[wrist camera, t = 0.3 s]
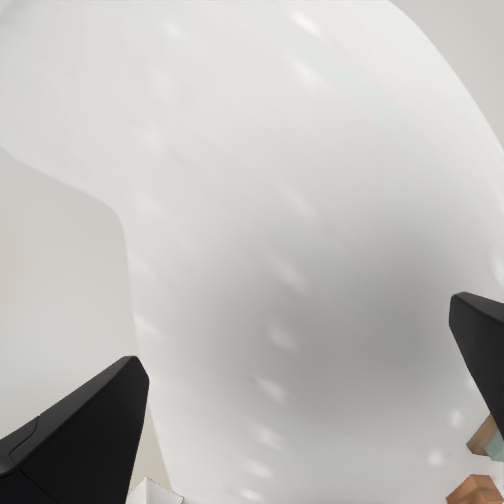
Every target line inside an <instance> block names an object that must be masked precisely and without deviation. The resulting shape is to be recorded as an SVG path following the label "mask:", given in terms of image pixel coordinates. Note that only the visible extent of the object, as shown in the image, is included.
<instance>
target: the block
mask: <svg viewBox="0 0 504 504" xmlns="http://www.w3.org/2000/svg"><path fill="white" fill-rule="evenodd" d="M446 500H447V502H448V504H502V503H503V502H504V499H503V497H502V496H501V494H500V492H499V491H498V489H497V487H496V486H495V484H494V483H493V481H492V480H491V478H490V476H488V475H473V474H471V475H470V476H469V477H468V478H467V479H466V480H465V481H464V482H463V483H462V484H461V485H460V486H459V487H458V488H457V489H456V490H454V491H453V492H452V493H451V494H450V495H449V496H448V497H447V498H446Z"/></svg>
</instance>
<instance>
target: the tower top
mask: <svg viewBox="0 0 504 504" xmlns="http://www.w3.org/2000/svg"><path fill="white" fill-rule="evenodd" d="M484 450H485V451H486V452H487V454H488V455H489V457H490V458H491V460H493V461H502V462H504V441H503V438H502V436H501V434H500V432H499V429H498V430H497V431H496V433H495V434H494V435H493V437H492V438H491V439H490V440H489V442H488V443H487V444H486V445H485V446H484Z"/></svg>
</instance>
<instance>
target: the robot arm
mask: <svg viewBox="0 0 504 504" xmlns="http://www.w3.org/2000/svg"><path fill="white" fill-rule="evenodd" d="M449 326H450V329H451V331H452V333H453V336H454V338H455V340H456V342H457V345H458V347H459V349H460V351H461V354H462V356H463V358H464V361H465V363H466V365H467V368H468V370H469V372H470V374H471V376H472V377H473V379H474V381H475V383H476V385H477V387H478V389H479V391H480V392H481V394H482V396H483V398H484V400H485V402H486V404H487V406H488V408H489V410H490V412H491V414H492V417H493V419H494V421H495V423H496V425H497V427H498V429H499V432H500V434H501V436H502V438H503V441H504V303H500V302H497V301H494V300H491V299H487V298H484V297H481V296H478V295H474V294H471V293H468V292H460V293H457V294H454V295H453V296H452V297H451V301H450V312H449ZM148 390H149V377H148V375H147V373H146V371H145V369H144V368H143V366H142V364H141V362H140V360H139V358H138V357H136V356H124V357H122V358H121V359H119V360H118V361H116V362H115V363H113V364H112V365H111V366H109V367H108V368H106V369H105V370H104V371H102V372H101V373H99V374H98V375H96V376H95V377H93V378H92V379H91V380H89V381H88V382H86V383H85V384H83V385H82V386H81V387H79V388H78V389H76V390H75V391H73V392H72V393H70V394H69V395H68V396H66V397H65V398H63V399H62V400H60V401H59V402H57V403H56V404H55V405H53V406H52V407H50V408H49V409H47V410H46V411H44V412H43V413H41V414H40V416H37V417H36V418H34V419H33V420H31V421H30V422H28V423H27V424H25V425H24V426H22V427H20V428H19V429H17V430H16V431H14V432H12V433H11V434H9V435H8V436H6V437H4V438H2V439H1V440H0V504H126V499H127V494H128V490H129V485H130V480H131V476H132V471H133V467H134V462H135V458H136V454H137V450H138V445H139V441H140V436H141V433H142V429H143V424H144V416H145V410H146V403H147V396H148Z"/></svg>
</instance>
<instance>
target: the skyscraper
mask: <svg viewBox="0 0 504 504" xmlns="http://www.w3.org/2000/svg"><path fill="white" fill-rule="evenodd" d="M182 500H183V497H181V496H179V495H178V494H176V493H174V492H172V491H170V490H168V489H167V488H165V487H163V486H161V485H160V484H158V483H156V482H154V481H153V480H151V479H149V477H147V476H145V479H144V480H143V481H142V482H141V483H140V484H139V485H138V486H136V487H135V488H134V489H133V490H130V492H129V493H128V495H127V499H126V504H181V502H182Z"/></svg>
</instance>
